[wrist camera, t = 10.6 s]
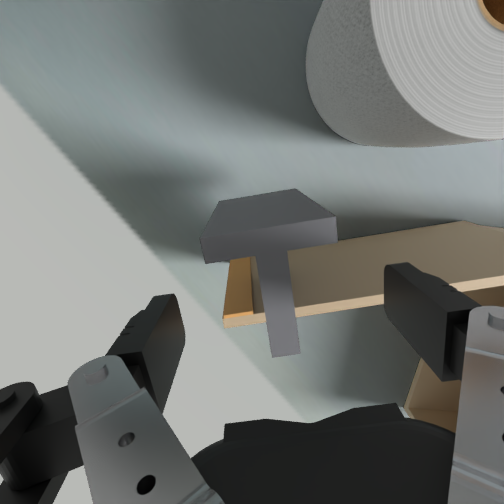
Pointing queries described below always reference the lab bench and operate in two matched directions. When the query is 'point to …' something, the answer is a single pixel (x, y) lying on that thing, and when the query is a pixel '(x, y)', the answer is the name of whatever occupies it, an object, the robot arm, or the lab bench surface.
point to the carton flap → (329, 261)
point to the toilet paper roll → (409, 71)
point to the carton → (446, 393)
